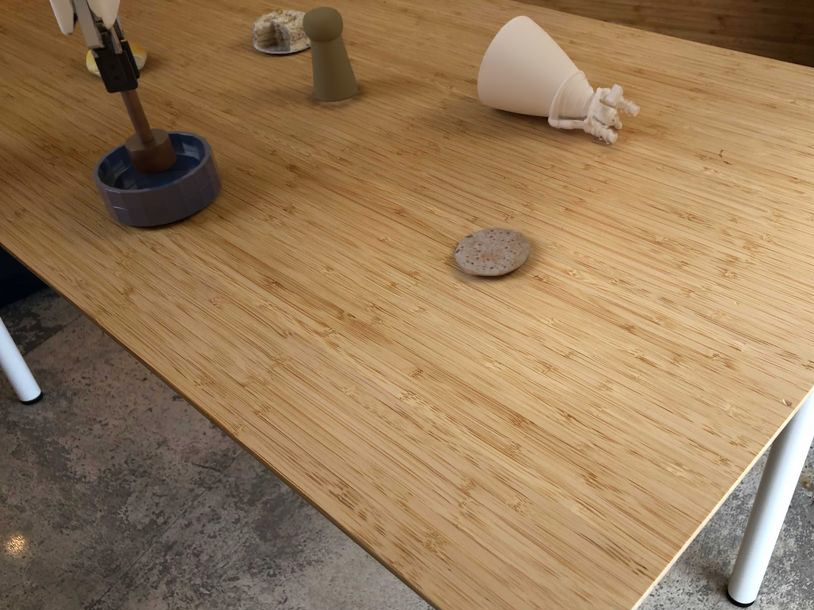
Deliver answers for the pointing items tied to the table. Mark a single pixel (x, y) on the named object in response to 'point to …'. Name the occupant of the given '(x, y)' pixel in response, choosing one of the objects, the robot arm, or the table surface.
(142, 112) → the brown pestle
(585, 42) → the table surface
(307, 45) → the cake
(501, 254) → the flatbread
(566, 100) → the rocket engine
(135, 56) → the bread roll
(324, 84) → the olive game pawn
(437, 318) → the table surface
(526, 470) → the table surface
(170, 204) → the bowl
